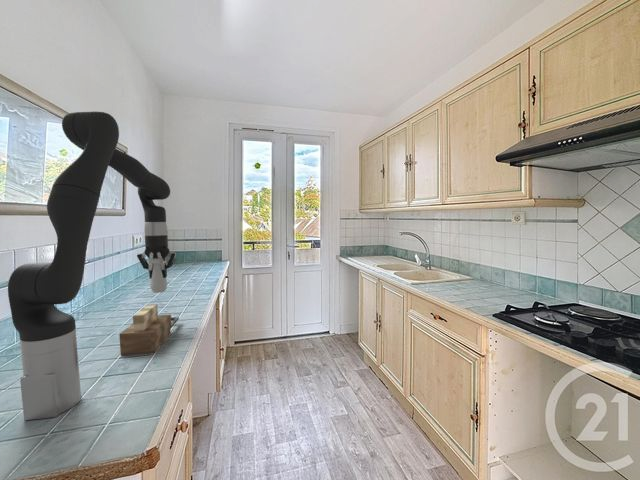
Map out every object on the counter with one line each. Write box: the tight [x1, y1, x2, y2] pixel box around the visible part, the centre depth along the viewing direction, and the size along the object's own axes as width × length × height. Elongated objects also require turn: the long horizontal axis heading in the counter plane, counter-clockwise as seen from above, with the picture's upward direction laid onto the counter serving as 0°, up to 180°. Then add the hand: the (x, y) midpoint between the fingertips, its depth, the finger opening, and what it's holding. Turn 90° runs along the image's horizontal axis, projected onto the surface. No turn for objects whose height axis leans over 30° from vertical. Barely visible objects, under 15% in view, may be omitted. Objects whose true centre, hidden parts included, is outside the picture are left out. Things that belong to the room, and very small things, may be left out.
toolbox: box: [119, 319, 172, 356], centre depth 100 cm, size 15×10×6 cm, turn 10°
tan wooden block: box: [118, 303, 180, 338], centre depth 104 cm, size 25×10×10 cm, turn 10°
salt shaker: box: [149, 258, 168, 294], centre depth 111 cm, size 6×6×13 cm
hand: (158, 279), depth 111 cm, fingers closed on salt shaker, 3 cm apart
